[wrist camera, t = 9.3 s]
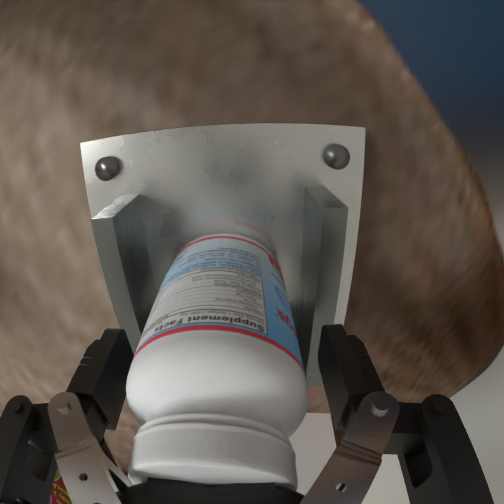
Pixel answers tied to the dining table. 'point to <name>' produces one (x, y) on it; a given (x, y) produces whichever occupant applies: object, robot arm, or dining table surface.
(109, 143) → the mounting bracket
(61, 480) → the smoothie
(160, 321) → the pill bottle
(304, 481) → the milk
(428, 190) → the dining table surface
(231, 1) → the dining table surface
